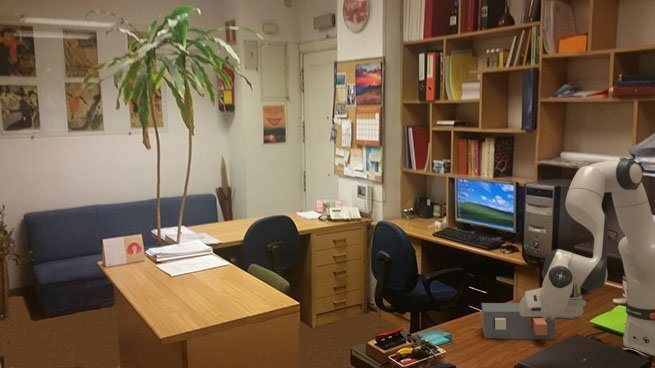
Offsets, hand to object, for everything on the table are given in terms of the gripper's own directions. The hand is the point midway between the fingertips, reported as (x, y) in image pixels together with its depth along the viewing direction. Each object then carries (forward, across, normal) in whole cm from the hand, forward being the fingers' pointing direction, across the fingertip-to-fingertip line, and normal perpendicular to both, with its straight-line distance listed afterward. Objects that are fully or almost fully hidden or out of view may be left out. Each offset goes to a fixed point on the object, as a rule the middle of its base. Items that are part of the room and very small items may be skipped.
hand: (547, 318), depth 191 cm
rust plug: (+19, 0, -4) cm, 20 cm away
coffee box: (+43, -15, -21) cm, 50 cm away
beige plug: (+23, +14, -8) cm, 28 cm away
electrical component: (+56, -18, -34) cm, 68 cm away
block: (+27, +7, -6) cm, 28 cm away
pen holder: (+66, -29, -45) cm, 85 cm away
